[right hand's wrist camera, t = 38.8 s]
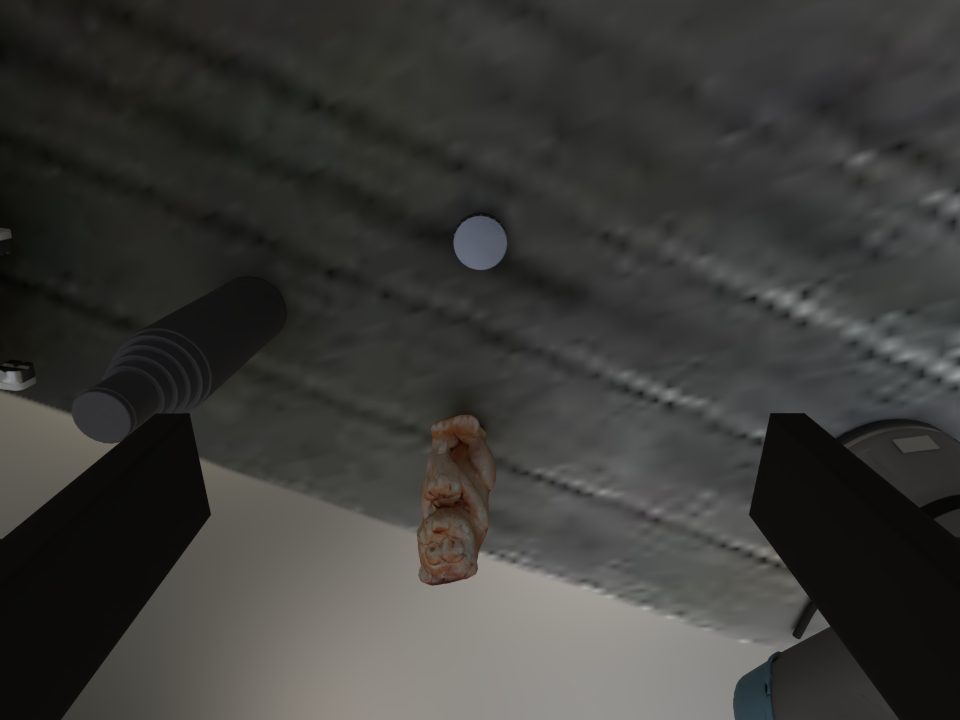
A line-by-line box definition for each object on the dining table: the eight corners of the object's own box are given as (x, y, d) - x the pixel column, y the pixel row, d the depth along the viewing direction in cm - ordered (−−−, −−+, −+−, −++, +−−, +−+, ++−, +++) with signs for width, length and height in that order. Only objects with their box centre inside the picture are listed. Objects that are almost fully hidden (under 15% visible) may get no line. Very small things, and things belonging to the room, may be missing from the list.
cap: (483, 276, 44) (484, 281, 43) (443, 243, 43) (441, 247, 42) (517, 236, 43) (519, 239, 42) (476, 201, 42) (476, 203, 41)
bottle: (206, 293, 45) (19, 393, 27) (263, 265, 44) (110, 348, 26) (243, 350, 47) (92, 480, 28) (299, 324, 46) (179, 441, 28)
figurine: (478, 392, 48) (478, 493, 34) (504, 464, 50) (514, 586, 36) (412, 412, 48) (384, 520, 34) (441, 482, 51) (426, 609, 37)
